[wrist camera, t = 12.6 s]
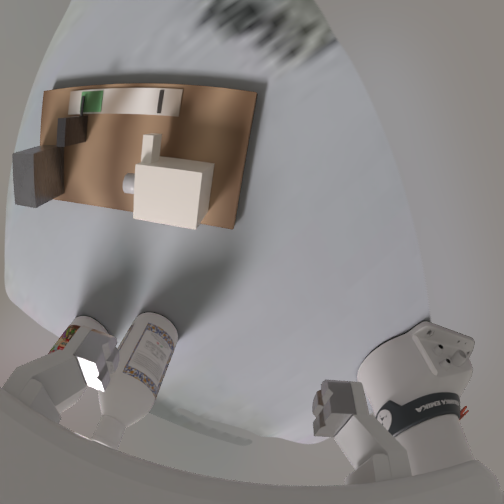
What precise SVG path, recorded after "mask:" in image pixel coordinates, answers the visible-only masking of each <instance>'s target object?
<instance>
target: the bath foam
mask: <svg viewBox="0 0 504 504" xmlns="http://www.w3.org/2000/svg"><path fill="white" fill-rule="evenodd" d="M177 341H178V333H177V330H176V328H175V326H174V325H173V324H172V323H171V322H170V321H169V320H168V319H167V318H165V317H163V316H161V315H159V314H156V313H150V312H148V313H142V314H140V315H139V316H137V317H136V319H135V320H134V322H133V323H132V325H131V327H130V328H129V330H128V331H127V333H126V335H125V337H124V338H123V340H122V342H121V343H120V345H119V347H118V350H119V354H120V360H119V364H118V367H117V369H116V371H115V372H114V373H112V374H110V379H111V380H110V382H109V384H108V386H107V388H106V390H105V392H104V391H101V390H99V403H100V408H101V413H102V417H101V419H100V421H99V423H98V425H97V428H96V430H95V432H94V434H93V437H92V439H91V440H94V441H96V442H98V443H101V444H103V445H106V446H108V447H110V448H113V449H116V450H117V449H118V447H119V444H120V442H121V439H122V436H123V434H124V431H125V428H126V427H128V426H130V425H132V424H134V423H136V422H137V421H139V420H140V419H142V418H143V417H144V416H145V415H146V414H147V413H148V412H149V411H150V409H151V408H152V406H153V404H154V402H155V400H156V397H157V394H158V392H159V389H160V386H161V384H162V381H163V378H164V376H165V373H166V370H167V368H168V365H169V362H170V360H171V357H172V355H173V352H174V349H175V347H176V344H177Z"/></svg>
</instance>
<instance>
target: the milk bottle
mask: <svg viewBox="0 0 504 504" xmlns="http://www.w3.org/2000/svg"><path fill="white" fill-rule="evenodd" d="M83 325H85V326H87V327H90V328H93V329H96V330H98V331H101V332H104V333H106V334H109V333H108V332H107V330H106V329H105V328H104V327H103V326H102V325H101V324H100V323H99V322H98V321H96V320H94V319H93V318H91V317H88V316H79V317H77V318H75V319H74V320H73V322H72V323H71V324H70V325H69V326H68V328H67V329H66V330H65V332H64V333H63V334H62V335H61V337H60V338H59V340H58V341H57V342H56V343H55V345H54V346H53V348H52V349H51V350H50V352H49V353H48V354H50V353H52V352H55V351H57V350H59V349H60V350H63V349H64V348H65V346H66V345H67V344H68V342H69V341H70V340H71V338H72V337H73V336H74V334H75V333H76V332H77V330H78V329H79V328H80V327H81V326H83ZM48 354H47V355H48ZM87 387H88V385H87V386H86V387H85V388H83V389H82V390H80V391H79V392H77V393H75V394H74V395H72V396H71V397H69V398H68V399H66V400H64V401H63V402H61V403H60V404H58V405H57V406H55V407H56V409H57V410H58V412H59V414H61V413H62V412H63V411H64V410H66V409H68V408H69V407H71V406H72V405H74V404H75V403H76V402H77V401H78V400H79V399H80V398H81V396H82V395H83V393H84V392H85V390H86V389H87Z"/></svg>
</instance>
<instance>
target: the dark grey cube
mask: <svg viewBox="0 0 504 504" xmlns="http://www.w3.org/2000/svg"><path fill="white" fill-rule="evenodd" d="M13 181H14V194H15V204H17V205H22V206H28V207H33V208H37V207H39V206H41V205H42V204H44V203H46V202H48V201H50V200H52V199H54V198H56V197H58V196H60V195H62V194H64V147H57V145H41V146H37V147H34V148H30V149H27V150H23V151H20V152H16V153H13Z"/></svg>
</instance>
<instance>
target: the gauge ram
mask: <svg viewBox="0 0 504 504" xmlns="http://www.w3.org/2000/svg"><path fill="white" fill-rule="evenodd" d="M161 138H162V134H157V133H150V134H144V135H143V143H142V154H141V162H140V163H138V164H135V173H127V174H126V175H125V177H124V180H123V191H124V193H129V194H134V210H133V219H139V220H144V221H150V222H156V223H161V224H167V225H172V226H178V227H184V228H189V229H195V230H196V229H197V227H198V226H199V224H200V223H201V221H202V220H203V218H204V217H205V215H206V214H207V212H208V208H209V200H210V193H211V185H212V178H213V171H214V164H215V163H208V162H201V161H194V160H186V159H179V158H170V157H162V156H160V147H161Z"/></svg>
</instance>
